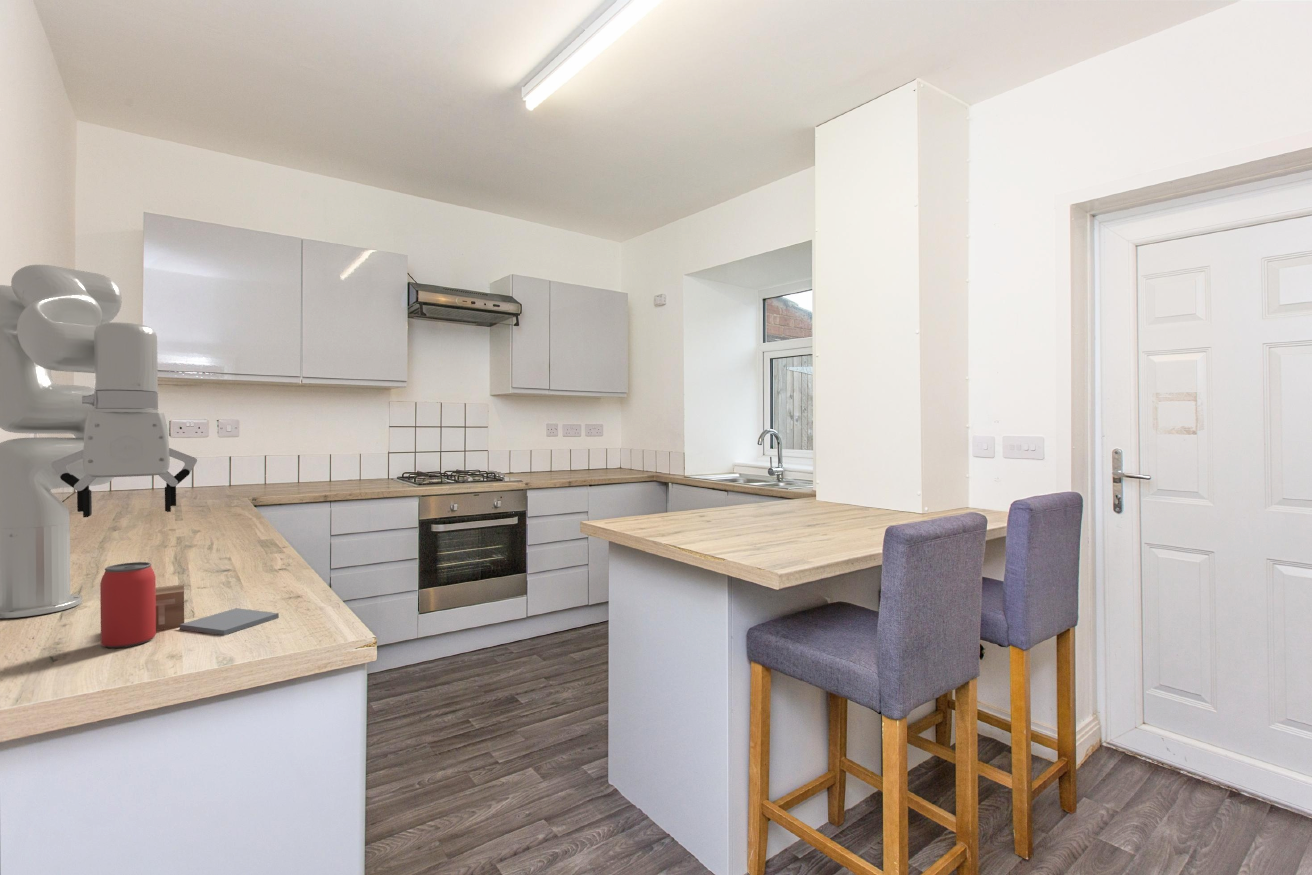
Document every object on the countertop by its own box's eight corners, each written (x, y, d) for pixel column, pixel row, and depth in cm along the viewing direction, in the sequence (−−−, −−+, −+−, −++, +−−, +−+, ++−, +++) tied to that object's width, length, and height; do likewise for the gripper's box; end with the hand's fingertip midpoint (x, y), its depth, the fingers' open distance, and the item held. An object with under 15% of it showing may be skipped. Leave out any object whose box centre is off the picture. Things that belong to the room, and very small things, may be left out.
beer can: (124, 650, 94) (123, 571, 94) (89, 647, 95) (88, 569, 95) (166, 636, 101) (166, 562, 100) (133, 634, 102) (132, 560, 102)
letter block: (140, 624, 107) (139, 589, 107) (184, 617, 111) (183, 584, 111) (138, 633, 102) (137, 597, 102) (184, 626, 106) (183, 591, 106)
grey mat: (179, 629, 104) (179, 624, 104) (236, 612, 114) (236, 608, 114) (224, 635, 101) (224, 630, 101) (278, 617, 111) (278, 613, 111)
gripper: (46, 401, 89) (48, 521, 89) (196, 403, 100) (198, 511, 100) (54, 403, 95) (56, 516, 95) (195, 405, 106) (197, 507, 106)
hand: (129, 513), depth 98 cm, fingers open, 9 cm apart
